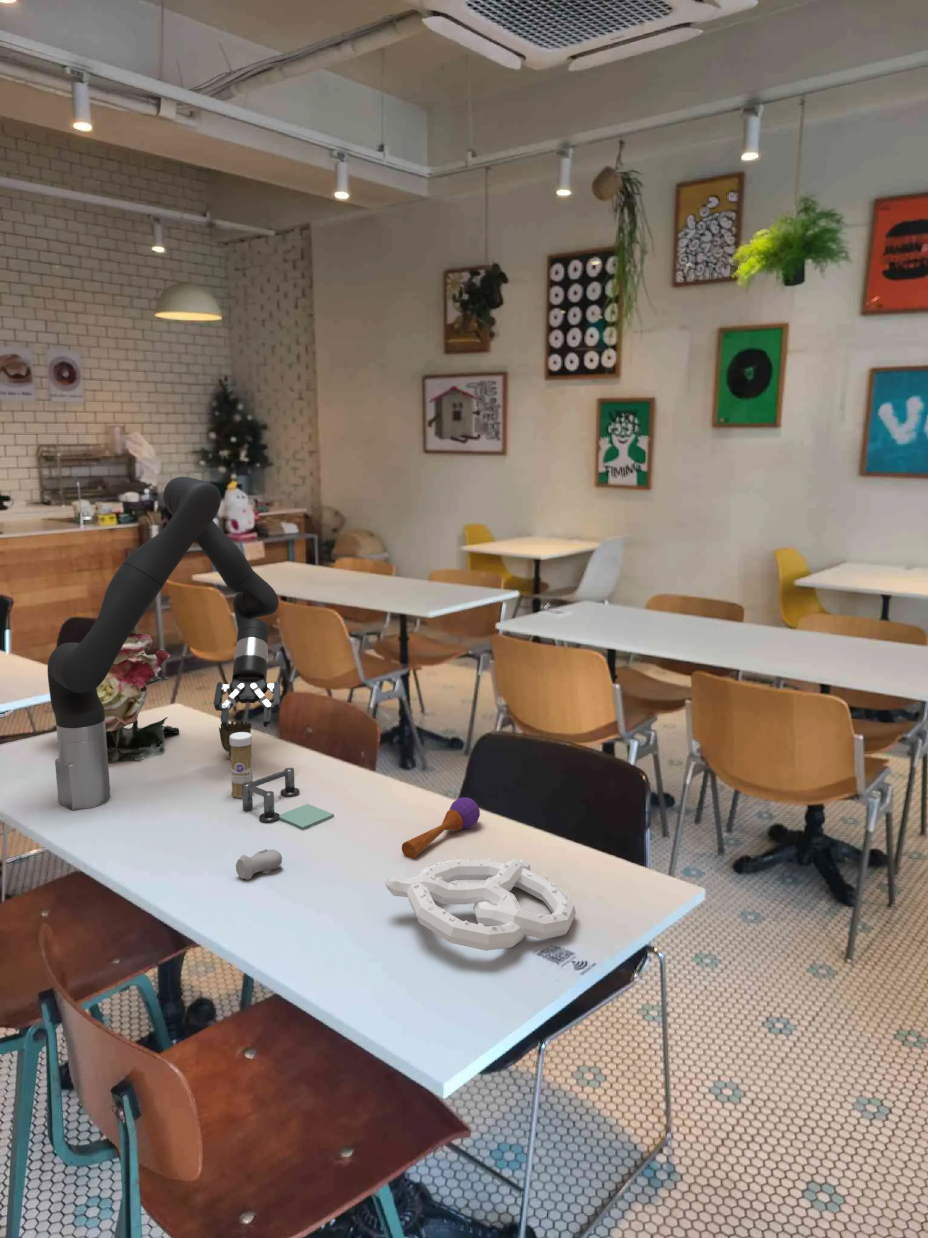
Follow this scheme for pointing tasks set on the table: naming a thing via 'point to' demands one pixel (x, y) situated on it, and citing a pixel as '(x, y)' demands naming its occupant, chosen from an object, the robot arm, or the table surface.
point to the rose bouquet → (132, 701)
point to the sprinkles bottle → (240, 761)
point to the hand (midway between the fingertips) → (245, 725)
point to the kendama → (445, 825)
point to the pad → (305, 816)
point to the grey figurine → (258, 863)
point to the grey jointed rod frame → (268, 794)
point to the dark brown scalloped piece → (230, 730)
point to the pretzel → (484, 902)
